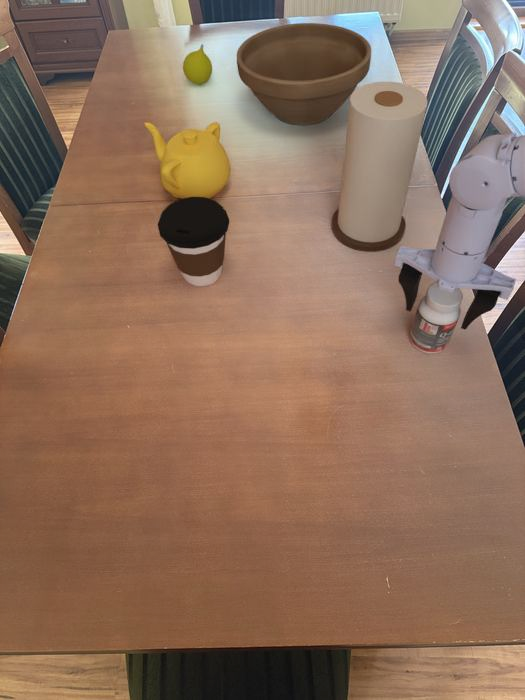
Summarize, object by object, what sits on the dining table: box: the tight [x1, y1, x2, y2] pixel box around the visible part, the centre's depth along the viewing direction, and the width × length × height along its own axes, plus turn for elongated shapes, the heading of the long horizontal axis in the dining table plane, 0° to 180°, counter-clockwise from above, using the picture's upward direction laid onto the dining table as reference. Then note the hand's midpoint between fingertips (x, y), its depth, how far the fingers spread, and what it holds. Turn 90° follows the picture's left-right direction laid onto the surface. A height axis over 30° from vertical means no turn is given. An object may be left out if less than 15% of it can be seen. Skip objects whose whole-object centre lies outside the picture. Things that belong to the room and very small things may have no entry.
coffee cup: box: [157, 197, 230, 288], centre depth 81 cm, size 11×11×12 cm
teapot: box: [144, 121, 232, 199], centre depth 96 cm, size 14×14×12 cm
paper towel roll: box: [331, 81, 428, 253], centre depth 83 cm, size 13×13×24 cm
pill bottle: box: [409, 281, 464, 354], centre depth 72 cm, size 6×6×10 cm
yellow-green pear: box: [182, 43, 213, 85], centre depth 124 cm, size 7×7×10 cm
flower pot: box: [236, 22, 372, 126], centre depth 113 cm, size 28×28×13 cm
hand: (437, 314), depth 71 cm, fingers open, 7 cm apart
